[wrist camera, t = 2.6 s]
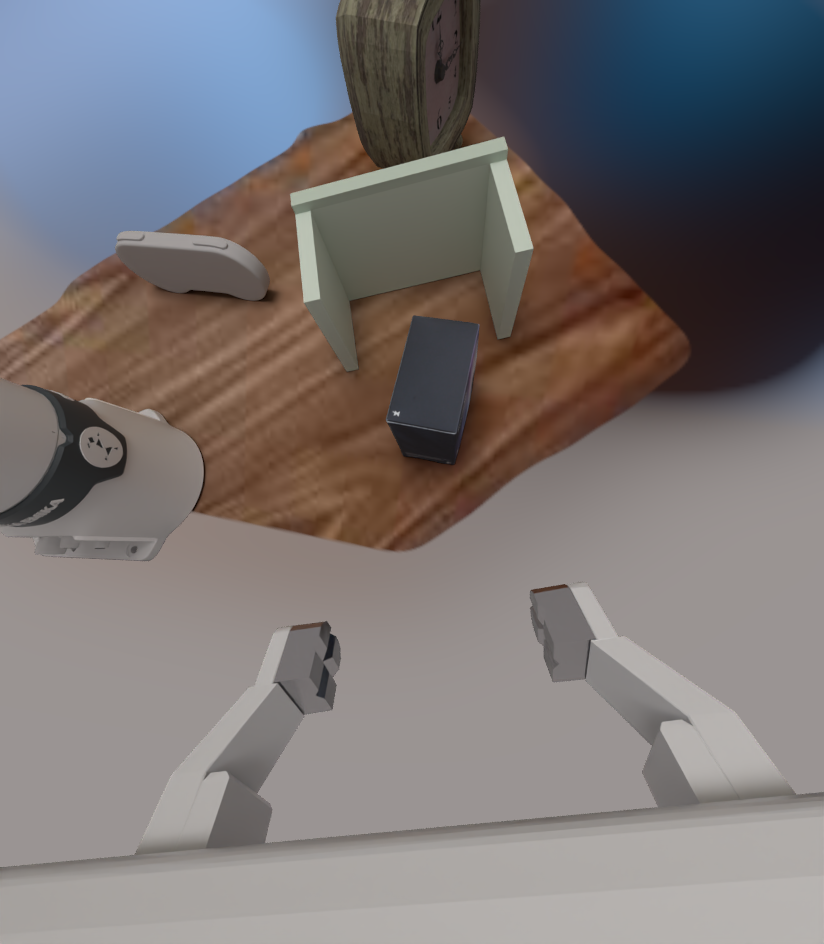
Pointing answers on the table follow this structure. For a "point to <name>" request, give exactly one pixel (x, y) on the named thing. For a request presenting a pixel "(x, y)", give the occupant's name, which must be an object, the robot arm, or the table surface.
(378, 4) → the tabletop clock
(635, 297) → the table surface
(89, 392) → the table surface
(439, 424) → the small box
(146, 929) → the robot arm
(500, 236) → the rack
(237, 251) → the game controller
